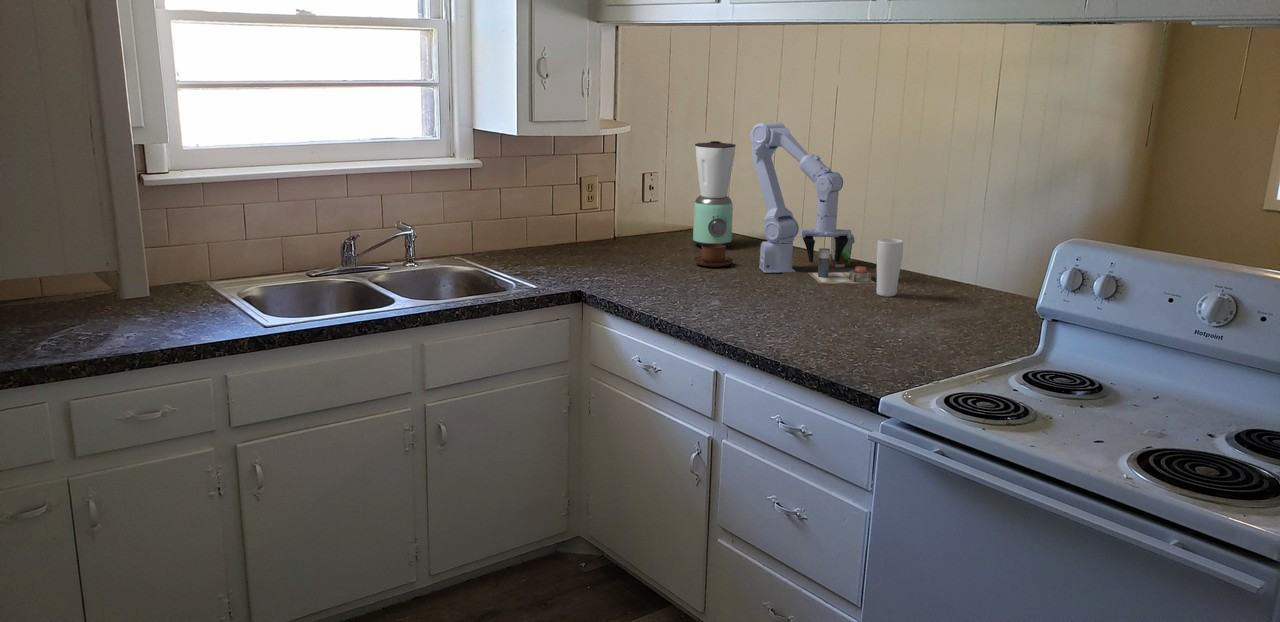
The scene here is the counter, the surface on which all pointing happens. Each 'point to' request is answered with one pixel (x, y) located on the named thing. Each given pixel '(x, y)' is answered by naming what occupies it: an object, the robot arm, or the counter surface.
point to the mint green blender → (713, 194)
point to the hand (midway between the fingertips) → (823, 261)
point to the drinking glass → (888, 266)
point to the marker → (823, 262)
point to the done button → (860, 269)
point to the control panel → (844, 277)
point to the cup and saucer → (713, 256)
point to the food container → (845, 254)
